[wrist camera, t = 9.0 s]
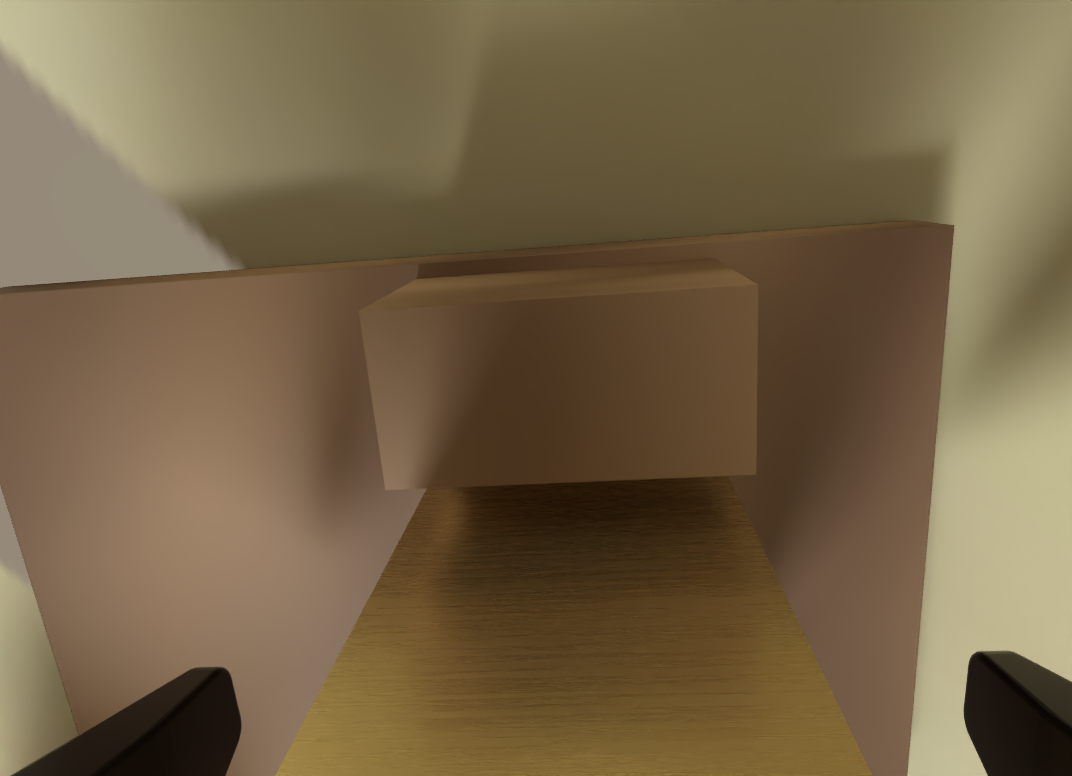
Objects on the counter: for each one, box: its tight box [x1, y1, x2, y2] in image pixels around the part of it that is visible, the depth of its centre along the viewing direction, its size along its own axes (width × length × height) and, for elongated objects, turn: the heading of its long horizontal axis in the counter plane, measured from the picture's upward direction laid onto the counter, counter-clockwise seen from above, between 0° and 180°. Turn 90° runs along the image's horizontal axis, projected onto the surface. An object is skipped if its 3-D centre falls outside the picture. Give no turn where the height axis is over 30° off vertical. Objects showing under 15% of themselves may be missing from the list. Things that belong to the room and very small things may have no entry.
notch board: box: [0, 221, 954, 776], centre depth 10 cm, size 14×10×4 cm
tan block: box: [275, 476, 872, 776], centre depth 8 cm, size 4×4×6 cm
